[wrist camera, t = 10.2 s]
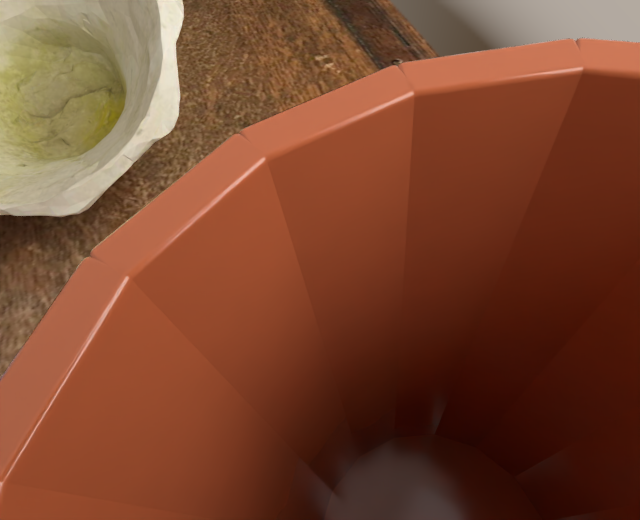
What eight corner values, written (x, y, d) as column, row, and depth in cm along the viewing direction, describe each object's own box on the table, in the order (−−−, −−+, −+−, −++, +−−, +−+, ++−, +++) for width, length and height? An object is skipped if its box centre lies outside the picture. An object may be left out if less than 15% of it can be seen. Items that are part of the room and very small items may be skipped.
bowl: (-79, 303, 21) (-390, 139, 12) (-24, 105, 28) (-196, -82, 20) (244, 223, 21) (154, 10, 13) (213, 48, 29) (144, -159, 20)
